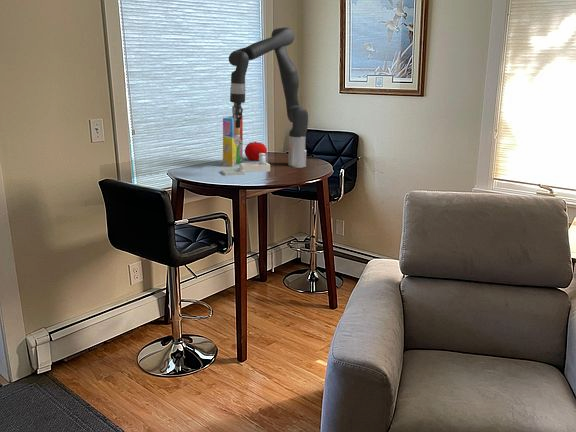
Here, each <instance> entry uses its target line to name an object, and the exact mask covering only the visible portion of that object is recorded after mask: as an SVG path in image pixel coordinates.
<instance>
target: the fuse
mask: <svg viewBox="0 0 576 432" xmlns="http://www.w3.org/2000/svg"><path fill="white" fill-rule="evenodd" d="M265 162H266V156H265V153H259V160H258V163H259V165H265Z"/></svg>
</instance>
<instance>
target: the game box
mask: <svg viewBox="0 0 576 432" xmlns="http://www.w3.org/2000/svg"><path fill="white" fill-rule="evenodd" d="M243 117H244V116H243V115H242V119H241V120H240V137H234V136H233V135H234V119H233V115H230V116H227V117H222V167H228V168H229V167H231V168H233V167H235V166H236V165H240V163H241V162H242V163H244V162H243V158H244V157H243V151H244V149H243V141H244V139H243V135H244V134H243V128H244V127H243V126H244V125H243V124H244V123H243V122H244V121H243V120H244V119H243Z"/></svg>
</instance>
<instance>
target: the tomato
mask: <svg viewBox="0 0 576 432" xmlns="http://www.w3.org/2000/svg"><path fill="white" fill-rule="evenodd" d="M259 153H265V157H266V156H267V153H268V148H267V146H266V145H265V144H264V143H263V142H258V141H254V142H253V141H252V142H248V143H247V144H246V146H245V148H244V155H245V157H246V159H248V160H251V161H254V160H257V161H259Z"/></svg>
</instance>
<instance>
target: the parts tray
mask: <svg viewBox="0 0 576 432" xmlns="http://www.w3.org/2000/svg"><path fill="white" fill-rule="evenodd" d="M220 173H222V175H224V176H244V175H245V172H244V171H243V170H242V169H240V167H234V168H233V167H231V168H229V167H228V168H220Z"/></svg>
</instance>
